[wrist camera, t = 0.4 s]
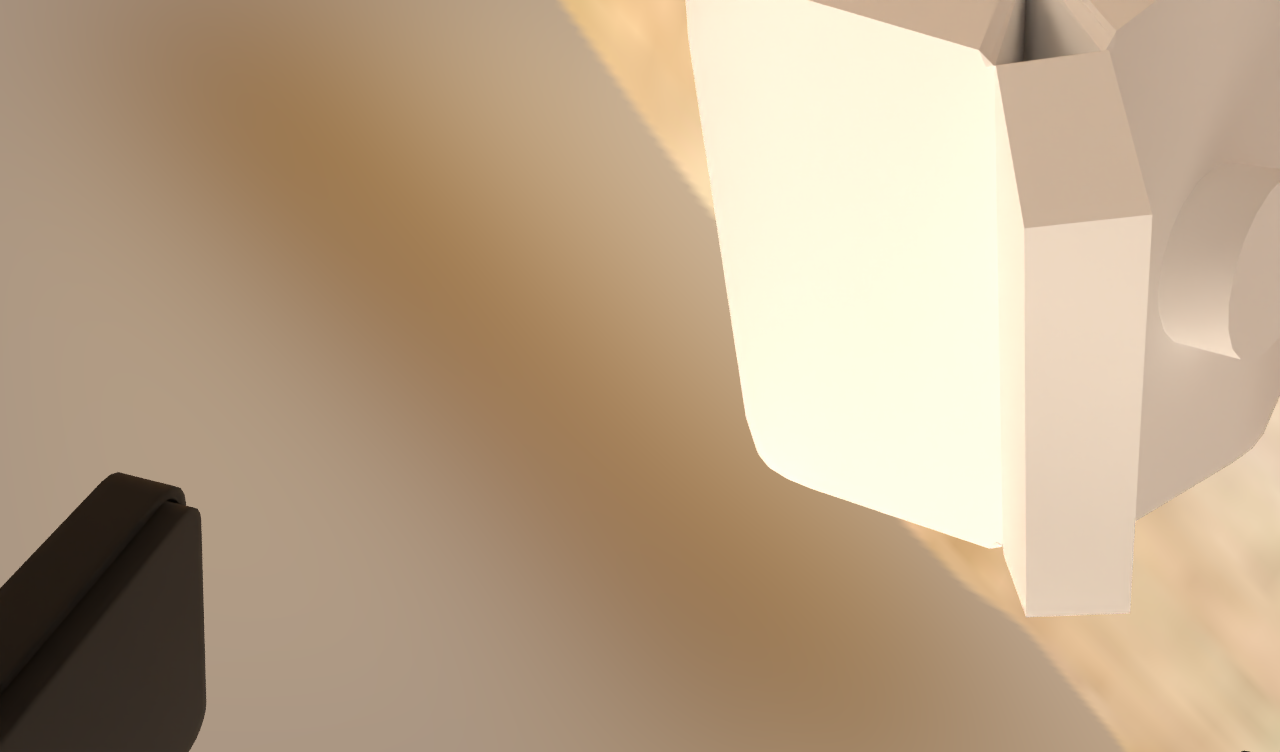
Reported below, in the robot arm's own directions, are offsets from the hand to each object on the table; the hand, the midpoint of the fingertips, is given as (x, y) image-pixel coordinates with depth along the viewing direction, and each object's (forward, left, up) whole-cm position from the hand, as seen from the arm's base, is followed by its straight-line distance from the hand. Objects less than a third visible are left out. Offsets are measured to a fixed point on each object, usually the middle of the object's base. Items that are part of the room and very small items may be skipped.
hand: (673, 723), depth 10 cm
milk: (-4, +2, -31) cm, 31 cm away
